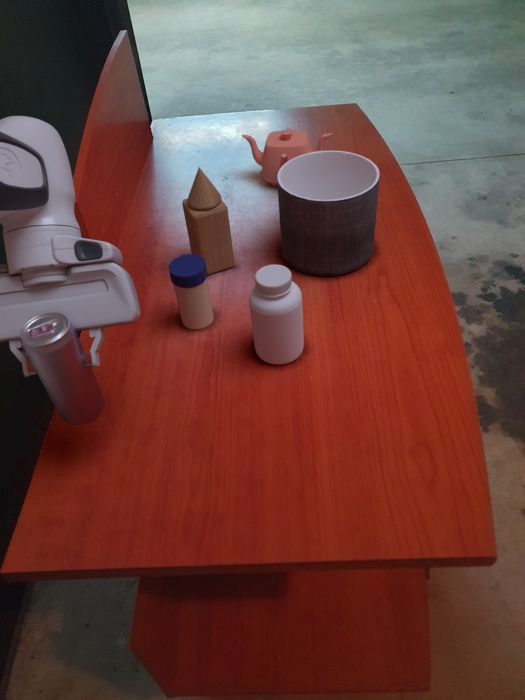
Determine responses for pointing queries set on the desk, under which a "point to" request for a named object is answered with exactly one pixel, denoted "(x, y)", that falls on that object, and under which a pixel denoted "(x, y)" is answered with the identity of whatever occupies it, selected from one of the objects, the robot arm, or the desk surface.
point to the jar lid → (188, 270)
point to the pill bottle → (276, 315)
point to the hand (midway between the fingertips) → (63, 371)
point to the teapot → (282, 150)
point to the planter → (328, 211)
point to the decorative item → (208, 225)
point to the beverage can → (63, 368)
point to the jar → (195, 305)
